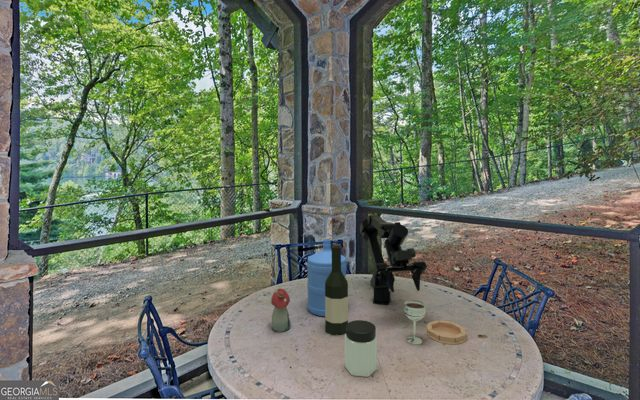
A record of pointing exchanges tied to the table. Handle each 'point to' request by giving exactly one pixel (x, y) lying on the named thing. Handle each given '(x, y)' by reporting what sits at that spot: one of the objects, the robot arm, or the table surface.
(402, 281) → the table surface
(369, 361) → the jar
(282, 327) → the decorative ornament
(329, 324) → the wine bottle
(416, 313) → the wineglass
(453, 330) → the coaster
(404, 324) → the table surface
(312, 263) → the water jug
